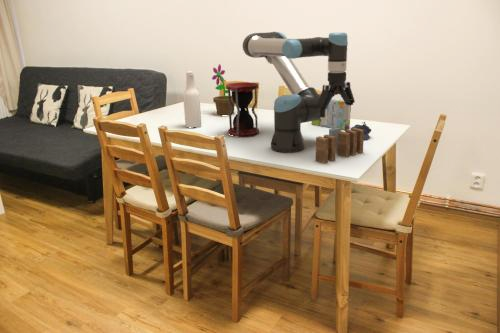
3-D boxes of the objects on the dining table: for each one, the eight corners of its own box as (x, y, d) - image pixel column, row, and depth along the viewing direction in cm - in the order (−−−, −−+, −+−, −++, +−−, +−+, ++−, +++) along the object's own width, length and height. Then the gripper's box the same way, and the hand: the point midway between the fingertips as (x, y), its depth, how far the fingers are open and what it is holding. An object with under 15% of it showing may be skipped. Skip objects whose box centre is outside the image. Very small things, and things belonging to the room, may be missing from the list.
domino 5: (352, 155, 186) (354, 132, 183) (344, 152, 190) (345, 130, 187) (356, 154, 187) (357, 131, 184) (347, 151, 191) (348, 129, 188)
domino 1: (324, 163, 177) (324, 139, 174) (315, 160, 181) (316, 137, 178) (327, 162, 178) (328, 138, 175) (319, 159, 182) (319, 136, 179)
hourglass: (222, 136, 223) (220, 86, 214) (235, 128, 237) (233, 81, 229) (252, 138, 217) (251, 87, 209) (263, 130, 231) (262, 82, 223)
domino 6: (359, 153, 189) (360, 130, 185) (350, 150, 193) (351, 128, 189) (362, 152, 190) (364, 130, 186) (354, 150, 194) (355, 127, 190)
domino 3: (331, 161, 180) (332, 137, 176) (322, 158, 183) (323, 135, 180) (335, 160, 181) (336, 136, 177) (326, 157, 185) (327, 134, 181)
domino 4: (346, 157, 184) (347, 134, 181) (337, 154, 188) (338, 131, 185) (349, 156, 185) (350, 133, 182) (340, 153, 189) (341, 131, 186)
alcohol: (188, 124, 249) (184, 70, 239) (203, 124, 247) (200, 70, 237) (183, 128, 241) (178, 72, 231) (198, 128, 239) (194, 72, 229)
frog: (376, 138, 211) (377, 122, 209) (358, 142, 205) (359, 126, 202) (360, 134, 219) (361, 118, 217) (343, 138, 213) (344, 122, 210)
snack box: (350, 128, 230) (351, 99, 225) (344, 130, 226) (345, 101, 221) (316, 122, 244) (317, 95, 239) (310, 124, 240) (311, 97, 235)
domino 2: (339, 150, 193) (340, 128, 190) (331, 152, 191) (332, 130, 187) (336, 149, 195) (337, 127, 192) (328, 151, 192) (329, 129, 189)
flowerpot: (223, 111, 282) (221, 63, 272) (241, 113, 274) (240, 63, 264) (209, 115, 271) (206, 65, 261) (227, 117, 263) (224, 66, 253)
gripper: (321, 75, 172) (320, 128, 179) (364, 69, 185) (362, 119, 192) (308, 73, 178) (307, 125, 185) (351, 68, 191) (349, 116, 198)
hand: (335, 122), depth 188 cm, fingers open, 13 cm apart
